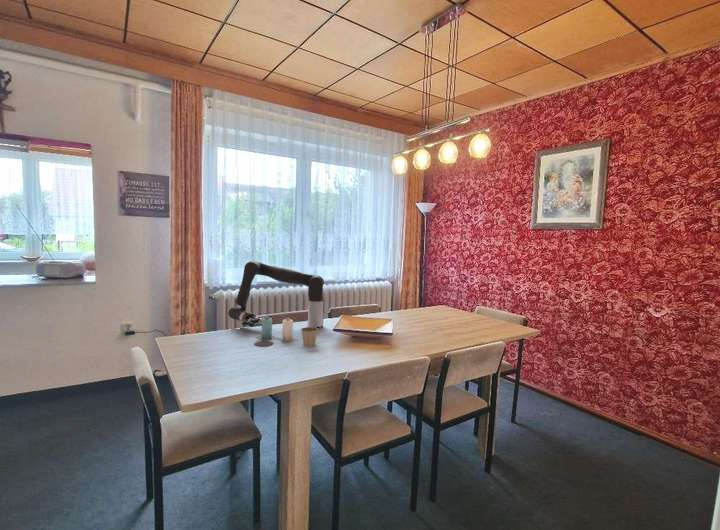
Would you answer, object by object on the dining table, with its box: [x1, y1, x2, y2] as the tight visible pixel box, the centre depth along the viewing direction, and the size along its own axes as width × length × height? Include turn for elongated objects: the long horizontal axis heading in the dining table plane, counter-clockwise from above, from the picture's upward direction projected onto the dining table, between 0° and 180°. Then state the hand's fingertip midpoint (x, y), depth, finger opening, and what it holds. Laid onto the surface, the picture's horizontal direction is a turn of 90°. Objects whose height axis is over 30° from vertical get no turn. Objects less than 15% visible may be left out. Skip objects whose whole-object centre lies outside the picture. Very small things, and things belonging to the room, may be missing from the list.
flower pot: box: [300, 326, 319, 347], centre depth 190 cm, size 9×9×9 cm
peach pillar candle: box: [281, 317, 294, 341], centre depth 195 cm, size 6×6×12 cm
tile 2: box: [275, 336, 300, 344], centre depth 196 cm, size 10×10×1 cm
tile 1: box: [254, 335, 278, 341], centre depth 197 cm, size 10×10×1 cm
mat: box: [253, 340, 275, 348], centre depth 186 cm, size 10×10×1 cm
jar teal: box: [261, 316, 273, 339], centre depth 197 cm, size 6×6×12 cm
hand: (259, 323), depth 204 cm, fingers open, 8 cm apart
